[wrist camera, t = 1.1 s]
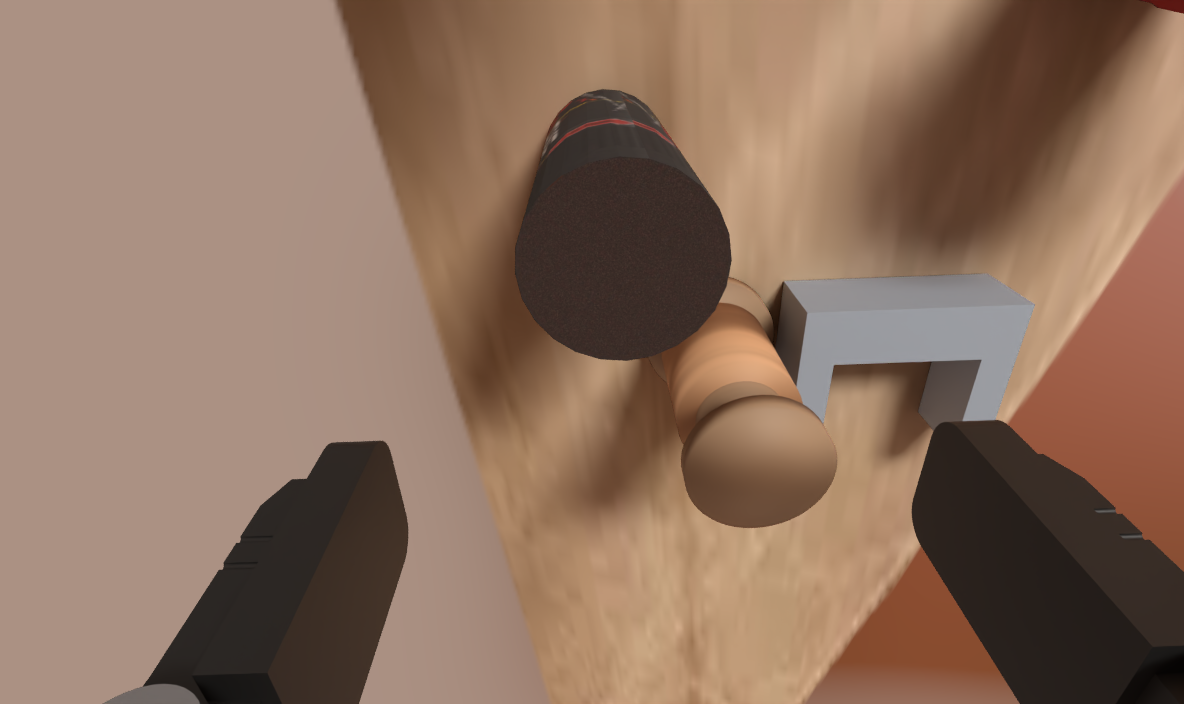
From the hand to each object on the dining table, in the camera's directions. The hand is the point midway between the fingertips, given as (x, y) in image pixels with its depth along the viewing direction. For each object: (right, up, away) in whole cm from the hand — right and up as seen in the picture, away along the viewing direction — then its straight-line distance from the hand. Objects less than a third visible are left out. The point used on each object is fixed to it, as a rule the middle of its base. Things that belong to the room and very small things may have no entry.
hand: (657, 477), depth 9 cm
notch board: (+15, +2, +26) cm, 30 cm away
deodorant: (0, +12, +21) cm, 24 cm away
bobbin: (+6, +3, +26) cm, 26 cm away
